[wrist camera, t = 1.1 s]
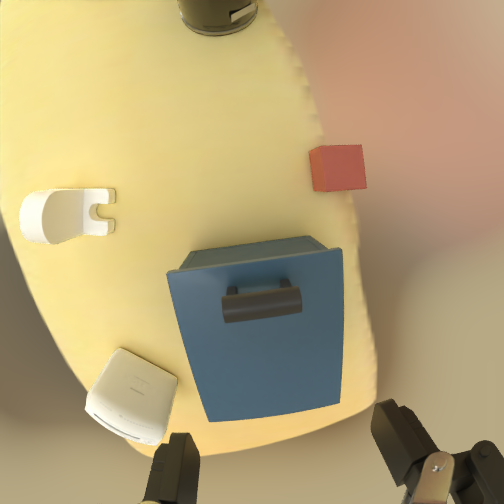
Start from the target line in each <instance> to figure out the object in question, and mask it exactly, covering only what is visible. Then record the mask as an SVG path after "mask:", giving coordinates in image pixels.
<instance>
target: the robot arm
mask: <svg viewBox="0 0 504 504" xmlns="http://www.w3.org/2000/svg"><path fill="white" fill-rule="evenodd" d="M177 2H178V5H179V8H180V11H181V16H182V19H183V22H184V23H185V25H186V26H187V27H188V28H189V29H191V30H193V31H194V32H197V33H200V34H203V35H211V36H219V35H227V34H231V33H234V32H237V31H239V30H241V29H243V28H245V27H246V26H248V25H249V24H250V23H251V22H252V21H253V20H254V18H255V16H256V14H257V6H258V5H257V0H177ZM371 432H372V435H373V437H374V439H375V442H376V444H377V446H378V448H379V450H380V452H381V454H382V456H383V458H384V460H385V462H386V464H387V466H388V468H389V470H390V473H391V475H392V477H393V479H394V481H395V483H396V485H397V487H398V486H401V485H403V484H405V485H406V487H407V490H406V492H405V495H404V497H403V500H402V503H401V504H447V498H448V494H449V493H450V494H451V496H452V498H453V500H454V502H455V504H504V458H503V456H502V455H501V453H500V452H499V450H498V449H497V447H496V446H495V444H494V443H492V442H491V441H487V440H483V441H480V442H478V443H476V444H475V445H474V447H473V448H472V449H471V450H469V451H465V452H461V453H457V454H449V453H447V452H443V451H440V450H439V449H438V448H437V446H436V445H435V443H434V442H433V440H432V439H431V437H430V436H429V434H428V433H427V431H426V430H425V428H424V427H423V426H422V424H421V422H420V421H419V420H418V418H417V416H416V415H415V414H414V412H413V411H412V410H410V409H409V408H407V407H406V406H401V407H398V405H397V404H396V403H395V401H394V400H393V399H389V400H386V401H383V402H380V403H377V404H376V405H375V407H374V412H373V417H372V421H371ZM199 469H200V455H199V451H198V449H197V447H196V445H195V443H194V441H193V439H192V437H191V435H190V433H172V434H171V436H170V440H169V444H163V443H162V444H161V445H160V446H159V447H158V449H157V450H156V451H155V454H154V458H153V463H152V466H151V471H150V475H149V479H148V483H147V488H146V492H145V496H144V499H143V501H142V502H140V503H139V504H196V502H197V490H198V479H199Z"/></svg>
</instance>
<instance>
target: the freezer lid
mask: <svg viewBox="0 0 504 504" xmlns="http://www.w3.org/2000/svg"><path fill="white" fill-rule="evenodd" d="M166 275H167V279H168V284H169V288H170V292H171V297H172V301H173V305H174V309H175V313H176V317H177V321H178V325H179V328H180V332H181V336H182V339H183V343H184V346H185V350H186V353H187V357H188V360H189V363H190V367H191V370H192V373H193V376H194V380H195V383H196V386H197V389H198V392H199V395H200V398H201V401H202V404H203V407H204V410H205V412H206V415H207V418H208V421H209V422H221V421H234V420H245V419H254V418H263V417H270V416H277V415H283V414H290V413H295V412H301V411H306V410H311V409H316V408H321V407H325V406H329V405H334V404H338V403H340V393H341V379H342V361H343V331H344V284H343V254H342V249H341V248H339V247H338V248H331V249H324V250H317V251H310V252H303V253H296V254H289V255H282V256H274V257H267V258H260V259H253V260H245V261H238V262H231V263H223V264H216V265H209V266H201V267H194V268H186V269H179V270H171V271H168V272H167V274H166Z"/></svg>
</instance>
